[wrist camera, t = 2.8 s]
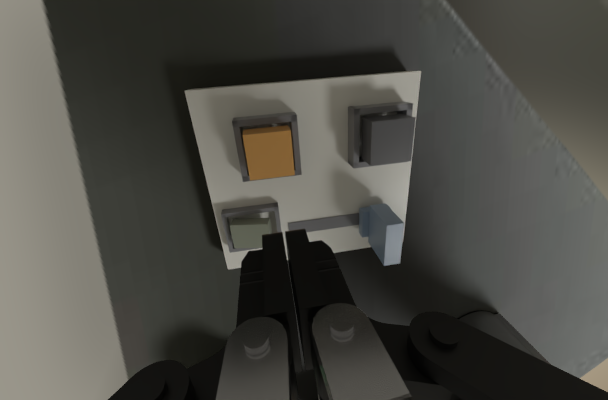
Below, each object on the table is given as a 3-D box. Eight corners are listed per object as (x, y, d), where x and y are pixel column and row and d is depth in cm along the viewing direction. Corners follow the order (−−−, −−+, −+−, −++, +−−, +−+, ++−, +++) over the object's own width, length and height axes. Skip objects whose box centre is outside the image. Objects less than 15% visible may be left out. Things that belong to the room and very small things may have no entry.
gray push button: (402, 113, 24) (415, 117, 22) (398, 153, 25) (410, 161, 23) (362, 117, 23) (372, 121, 21) (361, 158, 25) (370, 165, 23)
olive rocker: (269, 217, 26) (267, 224, 25) (273, 240, 27) (271, 247, 26) (233, 218, 26) (229, 225, 25) (237, 241, 28) (234, 248, 26)
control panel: (406, 70, 26) (432, 70, 22) (393, 230, 34) (410, 250, 30) (191, 88, 24) (178, 92, 20) (229, 255, 32) (226, 280, 28)
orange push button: (287, 125, 23) (290, 130, 21) (291, 166, 24) (294, 175, 22) (243, 129, 22) (242, 135, 20) (250, 171, 24) (250, 180, 22)
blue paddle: (387, 198, 28) (411, 221, 24) (384, 234, 30) (407, 262, 26) (359, 202, 28) (379, 226, 24) (358, 237, 30) (376, 267, 25)
